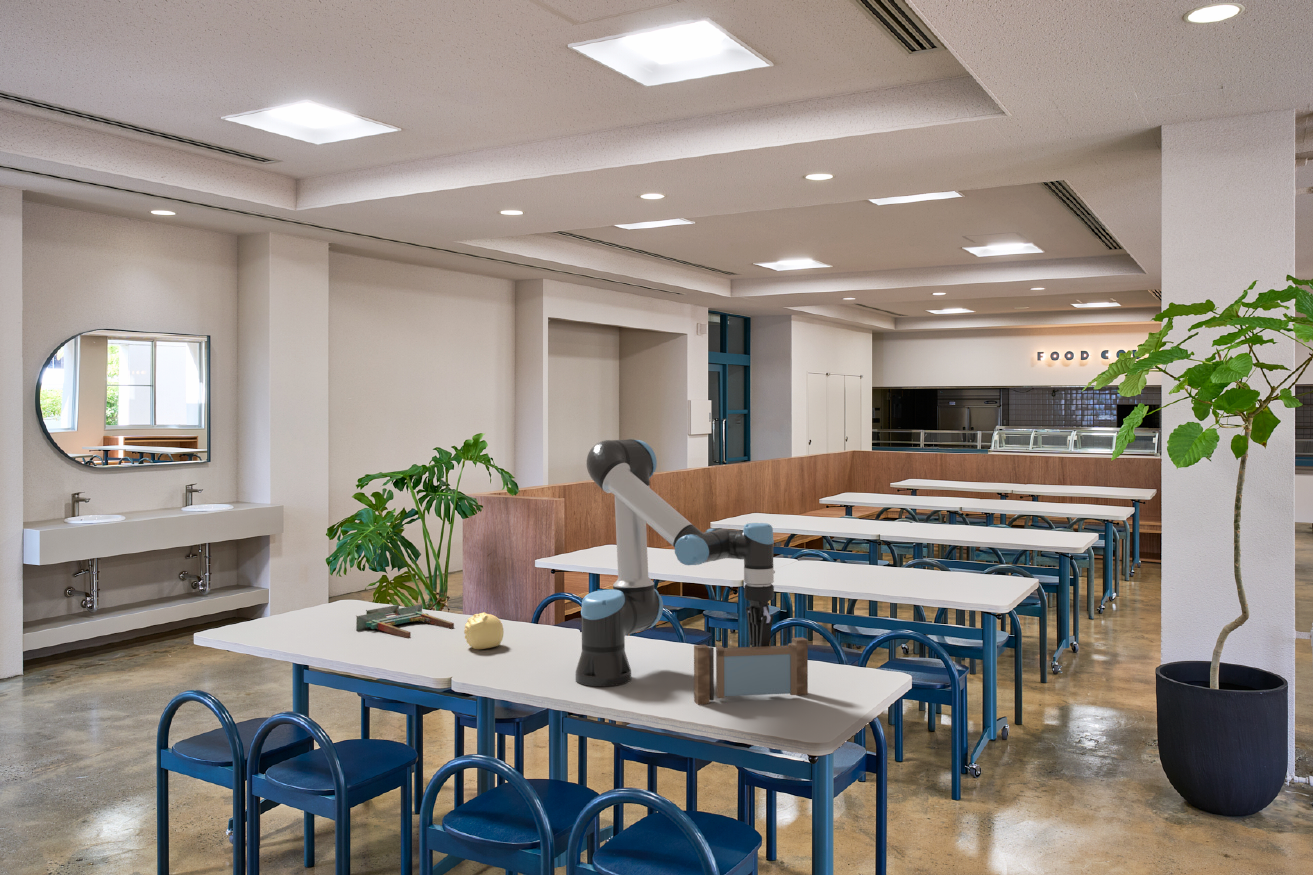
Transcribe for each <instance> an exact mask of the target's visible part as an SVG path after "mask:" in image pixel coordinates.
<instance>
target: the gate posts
mask: <svg viewBox="0 0 1313 875" xmlns="http://www.w3.org/2000/svg"><path fill="white" fill-rule="evenodd" d="M808 641H809V640H808V639H806V638H805V637H803V636H802V637H792V638H791V643H794V644H795V645H797V695H796V696H806V695H808V694H809V693H808V692H809V691H808V690H809V688H808V687H809V685H808V683H809V682H808V676H809V674H808V673H809V672H808V665H809V664H808V663H809V658H808V652H809V650H808V645H809V644H808ZM714 648H715V647H713V646H708V645H706V644H697V645H696V644H695V645H693V663H694V664H693V691H694V693H693V701H694V703H696V704H697V705H698V706H699V705H700V704H701V705H708V704H707V703H711V702H710V701H714V698H715V694H714V693H715V692H714V691H715V689H714V688H715V685H714V683H715V678H714V676H715V673H714V672H715V670H714V668H715V667H714V666H715V664H714V662H715V658H714V655H715V654H714V653H715V652H714V651H715V649H714Z"/></svg>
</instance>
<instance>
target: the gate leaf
mask: <svg viewBox="0 0 1313 875" xmlns="http://www.w3.org/2000/svg"><path fill="white" fill-rule="evenodd" d="M715 650H716V651H715V653H716V654H715V668H716V669H715V670H716V671H715V672H716V673H715V674H716V675H715V676H716V679H715V680H716V683H715V685H716V686H715V687H716V691H715V693H716V698H718V699H725V697H740V696H759V695H760V696H763V695H785V694H787V695H788V694H789V695H790V696H798V695H797V645H795V644H794V643H792V642H791V643H790V642H789V643H788V644H787V645H770V646H765V647H752V646H748V647H747V646H742V647H741V646H740V647H723V645H716V647H715Z"/></svg>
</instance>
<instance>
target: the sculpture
mask: <svg viewBox="0 0 1313 875" xmlns="http://www.w3.org/2000/svg"><path fill="white" fill-rule="evenodd" d="M504 631H505V630H504V626H503V623H502V621H501V619H499V618H498V617H497V616H495V615H493V614H491V613H490V614H489V613H486V612H485V611H484V612H481V613H480V612H479V613H475V614H473V615H472V616H471V617H469V618H467V622H466V623H465V624H464V631H463V632H464V635H465V636H464V639H465V640H466V641H465V642H466V643H467V644H468V646H469V647H471V648H472V649H474V650H486V649H490V648H496V647H498V646H500V645H501V643H502V641H503V638H504Z"/></svg>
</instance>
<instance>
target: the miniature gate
mask: <svg viewBox="0 0 1313 875" xmlns="http://www.w3.org/2000/svg"><path fill="white" fill-rule="evenodd" d="M365 612H366V614H362V615H361V614H360V615H355V617H356V624H355V625H356V626H355V627H356V628H355V629H356V631H362V630H368V629H372V630H375V629H376V630H378V631H382V632H385V633H387V634H390V635H393V636H398V637H401V638H407V639H408V638H409V639H410V638H411V637H412V636H411V633H412V632H411V631H408V630H405V629H403V628H399V627H397V626H395V625H401V624H406V623H410V622H417V621H418V622H420V621H422V622H425V623H428V624H431V625H433V626H436V627H441V628H446V629H450V630H451V629H454V628H455V623H454V622H452V621H448V620H446V619H442V618H440V617H435V616H433V615H430V614H429V613H428V612H427V613H424V612H423V603H420V604H417V605H416V604H415V605H410V606H404V607H400V604H399V603H398V604H395V605H392V606H391V605H390V606H384V607H380V608H379V607H378V608H373V609H368V610H367V609H366V610H365Z"/></svg>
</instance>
